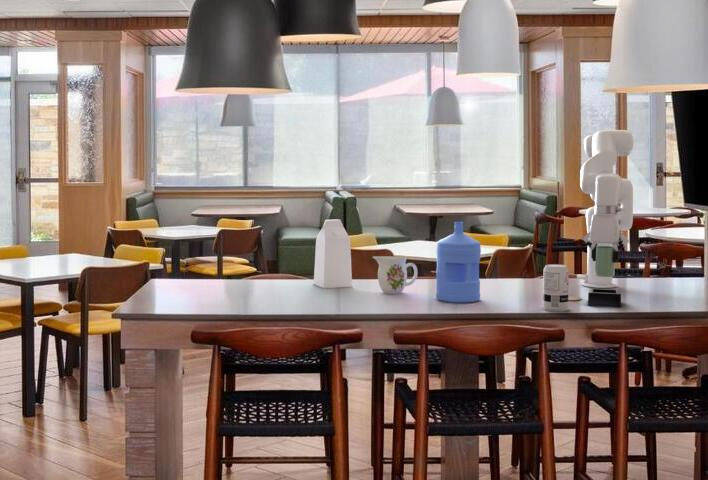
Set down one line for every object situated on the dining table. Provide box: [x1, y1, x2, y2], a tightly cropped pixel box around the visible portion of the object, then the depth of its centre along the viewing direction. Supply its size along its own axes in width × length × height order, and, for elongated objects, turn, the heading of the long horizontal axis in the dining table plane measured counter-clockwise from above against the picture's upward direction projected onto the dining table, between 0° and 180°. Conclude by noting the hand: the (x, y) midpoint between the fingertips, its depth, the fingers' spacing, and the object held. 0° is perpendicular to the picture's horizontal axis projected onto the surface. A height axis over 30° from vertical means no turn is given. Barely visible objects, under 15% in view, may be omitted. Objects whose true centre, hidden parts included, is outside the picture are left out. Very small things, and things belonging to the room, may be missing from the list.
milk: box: [313, 219, 353, 289], centre depth 383 cm, size 12×12×26 cm
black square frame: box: [587, 287, 622, 308], centre depth 340 cm, size 11×11×5 cm
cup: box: [595, 246, 616, 278], centre depth 339 cm, size 6×6×10 cm
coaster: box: [568, 295, 582, 302], centre depth 352 cm, size 10×10×1 cm
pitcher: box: [372, 255, 419, 295], centre depth 365 cm, size 11×18×14 cm, turn 104°
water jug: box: [435, 221, 482, 304], centre depth 348 cm, size 16×16×28 cm
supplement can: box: [542, 263, 570, 312], centre depth 328 cm, size 8×8×15 cm
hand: (605, 261), depth 339 cm, fingers closed on cup, 6 cm apart
